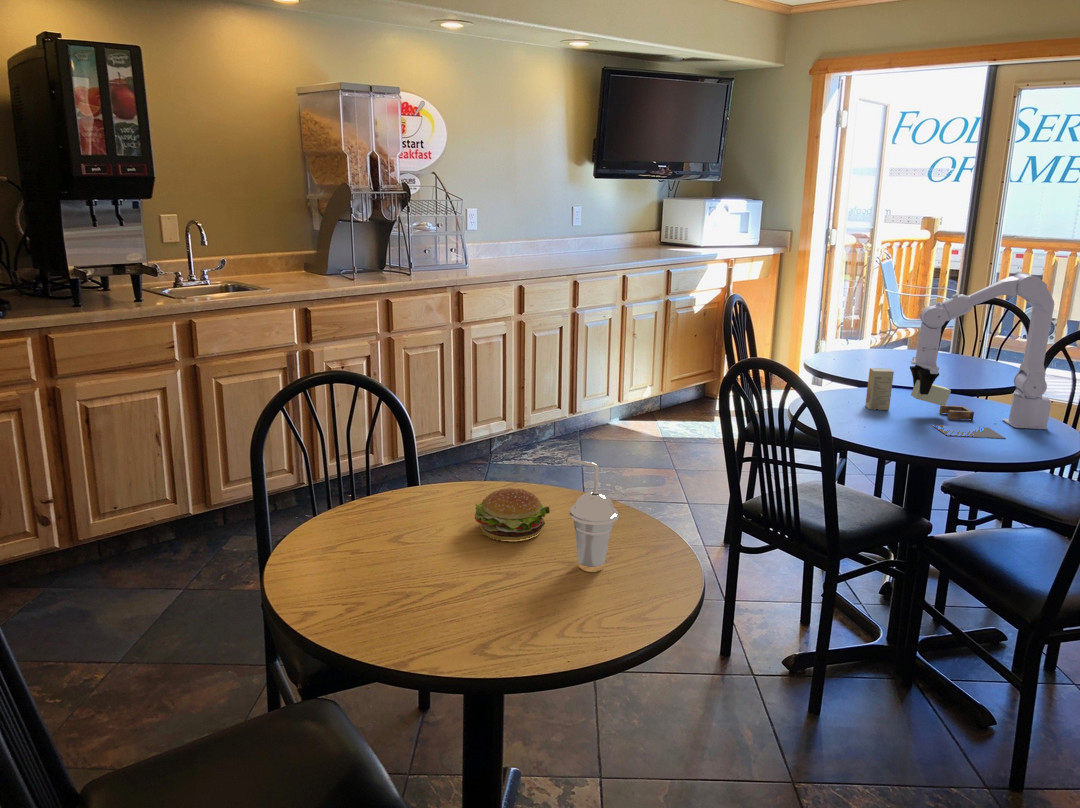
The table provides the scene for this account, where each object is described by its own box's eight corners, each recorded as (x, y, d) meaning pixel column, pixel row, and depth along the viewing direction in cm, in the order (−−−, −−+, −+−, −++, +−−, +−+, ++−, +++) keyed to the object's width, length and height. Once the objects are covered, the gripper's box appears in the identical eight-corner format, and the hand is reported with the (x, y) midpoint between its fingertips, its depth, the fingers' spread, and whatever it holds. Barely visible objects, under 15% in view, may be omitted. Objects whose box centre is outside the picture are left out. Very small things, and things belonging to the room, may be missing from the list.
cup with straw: (605, 582, 141) (612, 470, 136) (556, 570, 145) (561, 461, 140) (621, 562, 149) (629, 456, 143) (575, 551, 152) (580, 447, 147)
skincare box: (885, 406, 259) (890, 368, 256) (889, 410, 255) (895, 371, 252) (863, 405, 260) (869, 367, 257) (867, 409, 256) (873, 370, 253)
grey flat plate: (988, 428, 240) (988, 427, 240) (1005, 438, 231) (1005, 438, 231) (931, 425, 241) (932, 424, 241) (946, 436, 231) (946, 435, 231)
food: (458, 535, 158) (459, 496, 155) (500, 512, 169) (501, 475, 167) (520, 554, 151) (521, 513, 149) (559, 528, 162) (561, 490, 160)
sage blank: (939, 402, 252) (945, 387, 251) (944, 406, 248) (951, 390, 247) (910, 395, 252) (916, 379, 251) (915, 398, 248) (922, 382, 247)
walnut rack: (962, 414, 254) (963, 406, 254) (972, 420, 248) (974, 412, 247) (939, 413, 255) (940, 405, 254) (948, 419, 248) (950, 411, 247)
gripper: (904, 342, 253) (898, 385, 257) (923, 351, 239) (916, 397, 243) (928, 343, 253) (921, 386, 257) (949, 352, 239) (941, 398, 243)
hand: (920, 392), depth 250 cm, fingers closed on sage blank, 4 cm apart
